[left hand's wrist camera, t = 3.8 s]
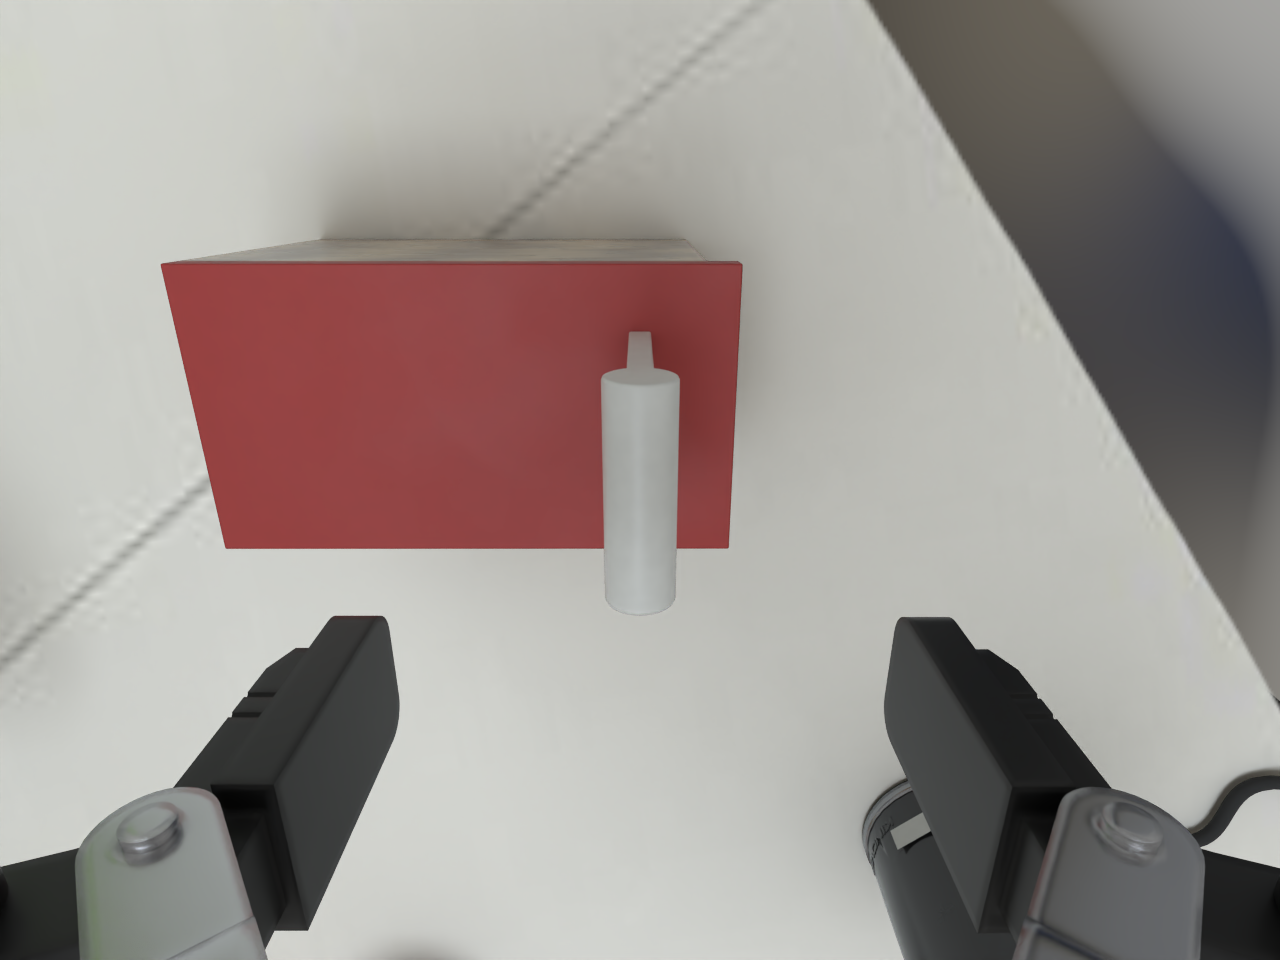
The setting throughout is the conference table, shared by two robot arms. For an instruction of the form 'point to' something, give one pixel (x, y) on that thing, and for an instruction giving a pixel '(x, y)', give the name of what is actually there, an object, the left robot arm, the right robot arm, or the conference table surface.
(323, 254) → the chest
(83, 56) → the conference table surface
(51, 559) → the conference table surface
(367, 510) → the lid
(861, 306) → the conference table surface
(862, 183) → the conference table surface
